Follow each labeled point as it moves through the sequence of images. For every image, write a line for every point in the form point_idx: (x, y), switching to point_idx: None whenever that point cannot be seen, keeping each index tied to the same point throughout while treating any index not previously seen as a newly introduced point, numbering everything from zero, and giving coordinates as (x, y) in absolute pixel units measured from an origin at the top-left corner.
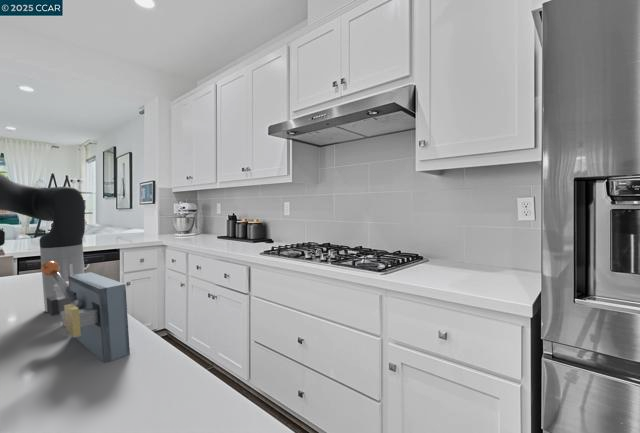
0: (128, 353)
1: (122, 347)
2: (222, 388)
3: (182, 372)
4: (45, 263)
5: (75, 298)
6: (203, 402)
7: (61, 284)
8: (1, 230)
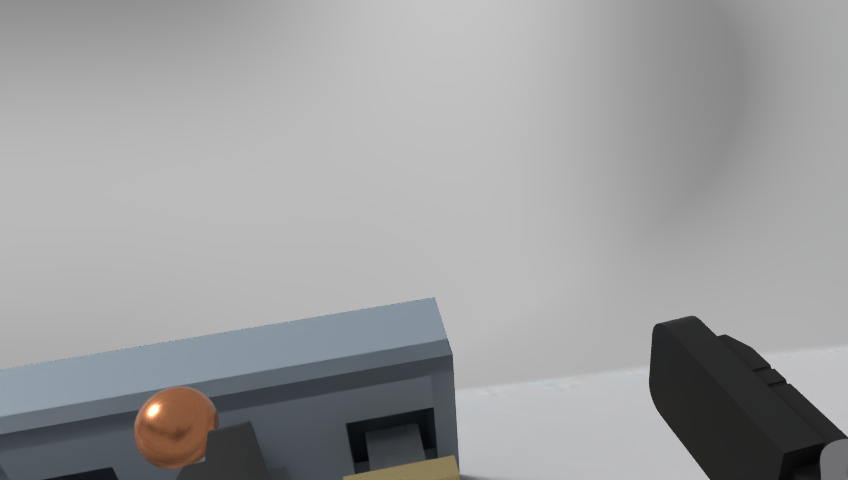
0: None
1: None
2: (781, 356)
3: None
4: (179, 420)
5: None
6: (828, 392)
7: None
8: (697, 318)
